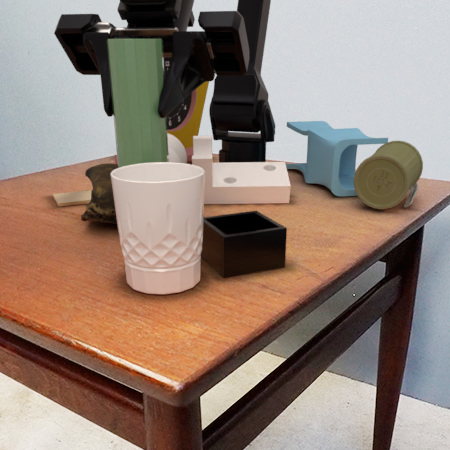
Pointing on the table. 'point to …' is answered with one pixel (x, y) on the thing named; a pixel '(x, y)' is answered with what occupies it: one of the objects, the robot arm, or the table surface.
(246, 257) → the black open box
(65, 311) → the table surface
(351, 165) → the blue step stool
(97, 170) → the seashell
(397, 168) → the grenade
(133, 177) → the white cup
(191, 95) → the yellow mantel clock
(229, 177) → the bracket
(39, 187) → the table surface
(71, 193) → the coaster
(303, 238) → the table surface
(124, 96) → the green cylinder
